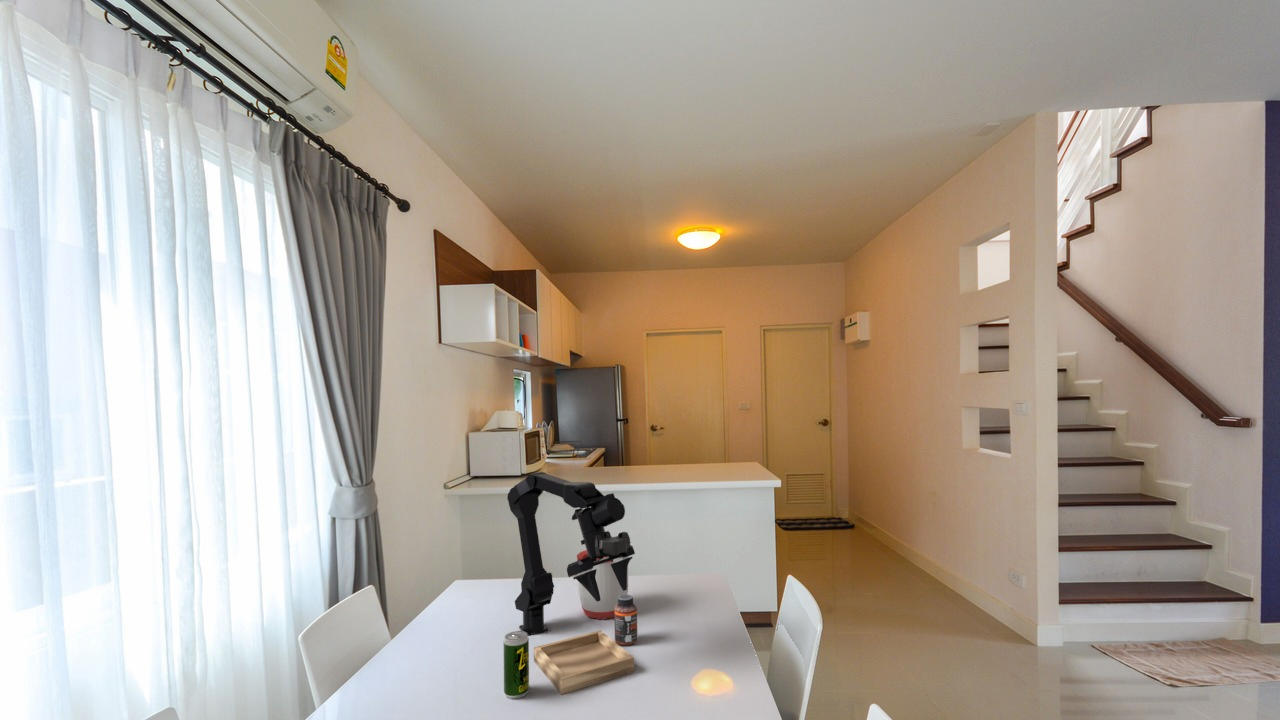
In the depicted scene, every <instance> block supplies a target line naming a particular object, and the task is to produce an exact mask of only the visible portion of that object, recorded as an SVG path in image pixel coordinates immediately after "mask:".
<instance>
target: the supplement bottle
mask: <svg viewBox="0 0 1280 720" xmlns="http://www.w3.org/2000/svg"><path fill="white" fill-rule="evenodd" d="M614 615H615V617H614V642H616V643H617V644H618V645H619V646H622V647H623V646H625V647H628V646H633V645H635V644H636V643H637V642H638V608H637V605H636V604H635V603H634V597H633V595H631V594H627V595H621V596H619V597H618V604H617V605H616V606H615V610H614Z"/></svg>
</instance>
